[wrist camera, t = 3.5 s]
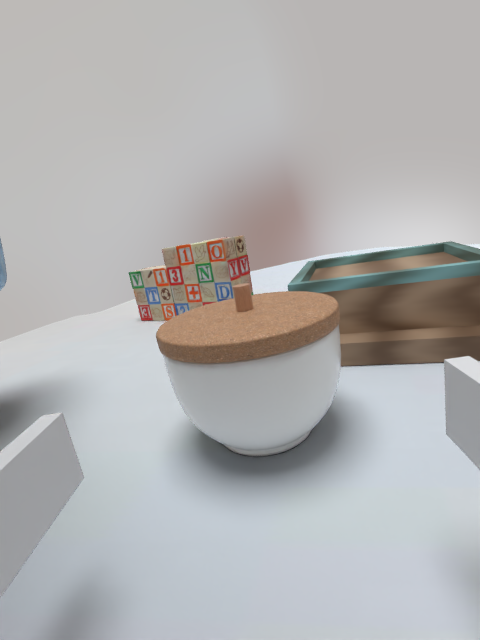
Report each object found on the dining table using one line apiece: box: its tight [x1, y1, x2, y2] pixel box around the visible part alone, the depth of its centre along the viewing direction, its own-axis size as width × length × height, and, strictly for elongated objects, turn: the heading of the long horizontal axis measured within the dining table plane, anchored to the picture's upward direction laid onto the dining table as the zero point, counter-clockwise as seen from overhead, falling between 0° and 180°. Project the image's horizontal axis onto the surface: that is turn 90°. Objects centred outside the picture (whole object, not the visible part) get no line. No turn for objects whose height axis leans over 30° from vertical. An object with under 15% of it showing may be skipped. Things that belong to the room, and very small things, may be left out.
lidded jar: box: [156, 283, 341, 456], centre depth 21 cm, size 11×11×9 cm
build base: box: [288, 242, 480, 366], centre depth 36 cm, size 22×22×7 cm
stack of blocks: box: [129, 236, 253, 321], centre depth 57 cm, size 21×6×12 cm, turn 59°
